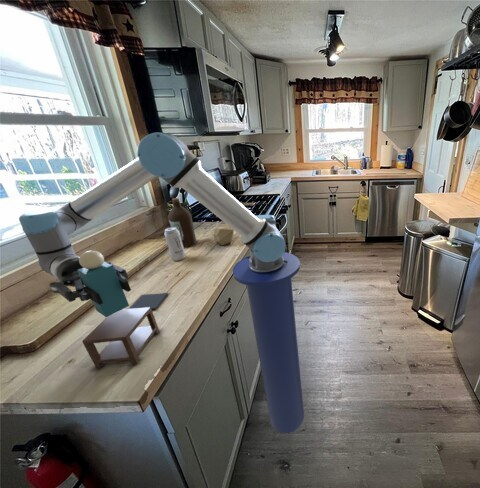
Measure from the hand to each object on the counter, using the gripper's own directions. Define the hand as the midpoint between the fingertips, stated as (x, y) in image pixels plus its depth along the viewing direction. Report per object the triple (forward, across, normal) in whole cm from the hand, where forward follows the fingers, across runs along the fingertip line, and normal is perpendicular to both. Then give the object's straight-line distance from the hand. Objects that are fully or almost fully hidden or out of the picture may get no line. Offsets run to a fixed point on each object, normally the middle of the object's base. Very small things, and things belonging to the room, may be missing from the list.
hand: (113, 292), depth 61 cm
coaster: (-23, -14, -20) cm, 34 cm away
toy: (-5, 0, -6) cm, 8 cm away
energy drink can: (-48, -41, -20) cm, 66 cm away
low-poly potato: (-43, -65, -20) cm, 81 cm away
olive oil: (-61, -54, -20) cm, 83 cm away
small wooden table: (-5, 0, -20) cm, 21 cm away
